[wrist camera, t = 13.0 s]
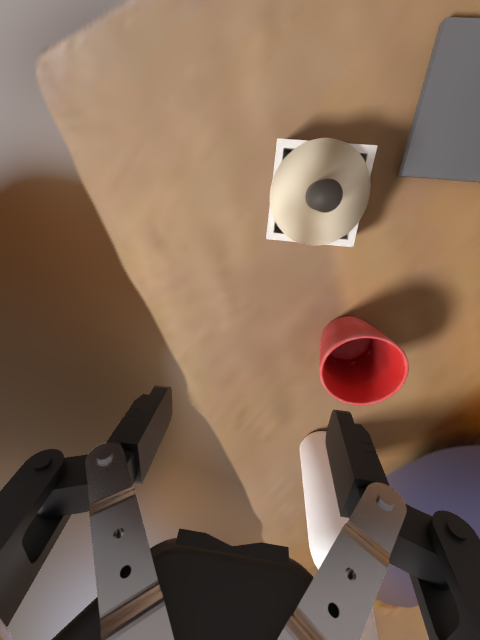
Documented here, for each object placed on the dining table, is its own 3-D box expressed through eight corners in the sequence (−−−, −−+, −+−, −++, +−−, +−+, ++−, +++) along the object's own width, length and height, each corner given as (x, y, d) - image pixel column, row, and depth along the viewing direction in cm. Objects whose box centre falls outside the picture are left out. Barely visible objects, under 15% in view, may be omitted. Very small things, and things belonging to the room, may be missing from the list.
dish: (363, 151, 34) (377, 145, 29) (343, 240, 38) (352, 247, 34) (276, 145, 35) (277, 138, 30) (267, 233, 39) (266, 238, 35)
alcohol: (290, 448, 56) (306, 692, 28) (317, 421, 52) (364, 670, 25) (326, 467, 57) (375, 719, 29) (355, 442, 53) (440, 703, 26)
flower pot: (344, 292, 41) (363, 319, 32) (397, 333, 43) (428, 369, 34) (297, 340, 45) (302, 376, 37) (347, 376, 47) (363, 418, 38)
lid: (380, 142, 29) (403, 130, 24) (355, 248, 34) (370, 258, 29) (275, 136, 30) (276, 124, 25) (265, 240, 35) (263, 248, 29)
